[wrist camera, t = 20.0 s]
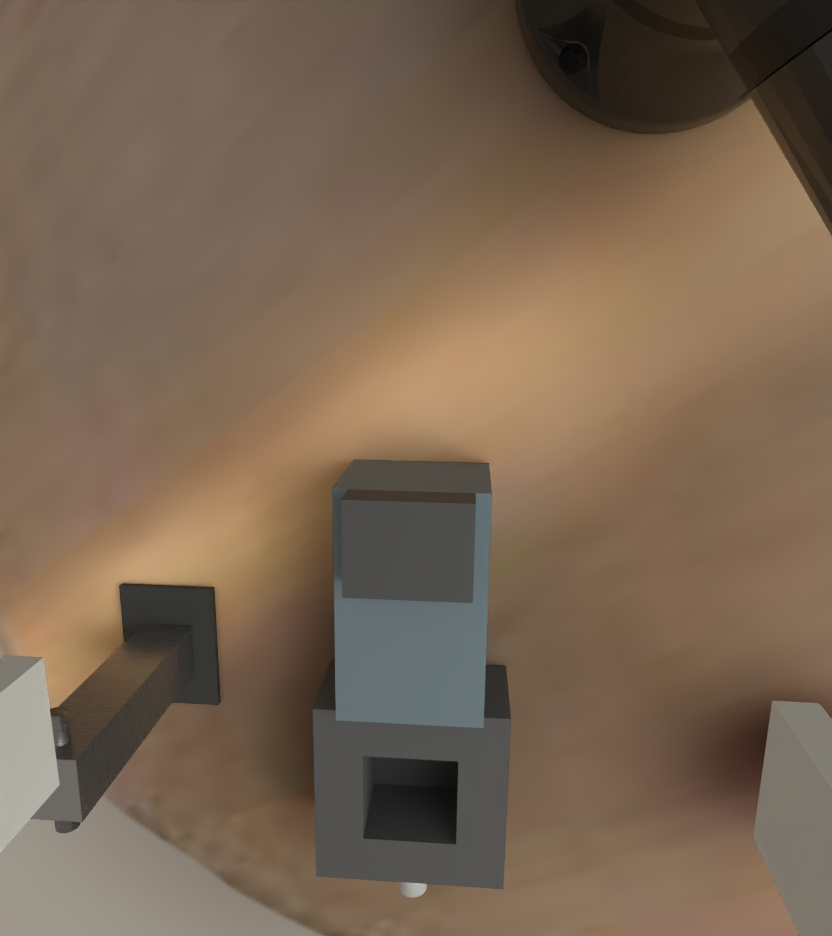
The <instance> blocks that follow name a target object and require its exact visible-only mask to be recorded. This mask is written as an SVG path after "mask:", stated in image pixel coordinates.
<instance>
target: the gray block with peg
mask: <svg viewBox="0 0 832 936" xmlns="http://www.w3.org/2000/svg"><path fill="white" fill-rule="evenodd" d="M194 673H195V660H194V644H193V628H192V626H187V625H164V624H143V625H142V626H141V627H140V628H139V629H137V630H136V631H135V632H134V633H133V634H132V635H131V636H130V637H129V638H128V639H127V640H126V641H125V642H124V643H123V644H122V645H121V646H120V647H119V648H118V649H117V650H116V651H115V652H114V653H113V654H112V655H111V656H110V657H109V658H108V659H107V660H106V661H105V662H104V663H103V664H102V665H101V666H100V667H99V668H98V669H97V670H96V671H95V672H94V673H92V674H91V675H90V676H89V677H88V678H87V679H86V680H85V681H84V682H83V683H82V684H81V685H80V686H79V687H78V688H77V689H76V690H75V691H74V692H73V693H72V694H71V695H70V696H69V697H68V698H67V699H66V700H65V701H64V702H63V703H62V704H61V705H60V706H59V707H56V708H52V709H50V714H51V722H52V730H53V737H54V745H55V753H56V761H57V768H58V776H59V784H60V785H59V786H58V787H57V788H56V790H55V791H54V792H53V793H52V794H51V795H50V796H49V798H48V799H47V800H46V801H45V802H44V803H43V805H42V806H41V807H40V808H39V809H38V810H37V811H36V813H35V814H34V815H33V816H32V817H31V818H30V819H41V820H55V829H56V831H57V832H59V833H68V832H71V831H73V830H75V829H76V828H78V826H79V825H80V823H81V822H83V820H84V819H85V818H86V816H87V815H88V814H89V812H90V811H91V810H92V809H93V807H94V806H95V804H96V803H97V802H98V800H99V799H100V798H101V797H102V795H103V794H104V793H105V791H106V790H107V789H108V787H109V786H110V785H111V783H112V782H113V781H114V779H115V778H116V777H117V775H118V774H119V773H120V771H121V770H122V769H123V767H124V766H125V765H126V763H127V762H128V761H129V759H130V758H131V757H132V755H133V754H134V753H135V751H136V750H137V749H138V747H139V746H140V745H141V743H142V742H143V741H144V739H145V738H146V737H147V735H148V734H149V733H150V731H151V730H152V729H153V727H154V726H155V725H156V723H157V722H158V721H159V719H160V718H161V717H162V715H163V714H164V713H165V711H166V710H167V709H168V707H169V706H170V705H171V703H172V702H173V701H174V699H175V698H176V697H177V695H178V694H179V693H180V691H181V690H182V689H183V687H184V686H185V685H186V683H187V682H188V681H189V679H190V678H191V677H192V675H193V674H194Z"/></svg>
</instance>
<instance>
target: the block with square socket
mask: <svg viewBox="0 0 832 936" xmlns="http://www.w3.org/2000/svg"><path fill="white" fill-rule="evenodd" d="M332 495H333V562H334V629H335V658H332V661H331V663H330V666H329V668H328V671H327V674H326V676H325V679H324V681H323V684H322V686H321V689H320V691H319V694H318V696H317V699H316V702H315V704H314V707H313V750H314V793H315V837H316V876H319V877H333V878H348V879H362V880H377V881H392V882H398V888H399V891H400V892H401V893H402V894H403V895H405V896H407V897H418V896H421V895H422V894H423V893H424V892H425V891H426V888H427V884H436V885H450V886H465V887H480V888H494V889H503V882H504V860H505V837H506V815H507V792H508V770H509V747H510V725H511V716H510V705H509V695H508V684H507V673H506V666H494V665H486V645H487V617H488V588H489V560H490V532H491V504H492V490H491V480H490V470H489V463H461V462H424V461H387V460H354V461H353V462H352V463H351V465H350V466H349V467H348V469H347V470H346V471H345V473H344V474H343V475H342V477H341V478H340V479H339V481H338V482H337V483H336V485H335V486H334V487H333V489H332Z"/></svg>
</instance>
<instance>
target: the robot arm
mask: <svg viewBox="0 0 832 936" xmlns="http://www.w3.org/2000/svg"><path fill="white" fill-rule="evenodd" d="M515 1H516V9H517V15H518V20H519V24H520V28H521V31H522V35H523V38H524V40H525V43H526V46H527V48H528V50H529V53H530V55H531V57H532V59H533V61H534V63H535V64H536V66H537V68H538V69H539V71H540V73H541V74H542V76H543V77H544V78H545V80H546V81H547V82H548V84H549V85H550V86H551V87H552V88H553V89H554V91H555V92H556V93H557V94H558V95H559V96H560V97H561V98H562V99H563V100H564V101H566V102H567V103H568V104H569V105H571V106H572V107H573V108H574V109H576V110H577V111H579V112H580V113H582V114H583V115H585V116H587V117H589V118H590V119H592V120H594V121H597V122H599V123H601V124H604V125H606V126H609V127H612V128H615V129H619V130H623V131H628V132H634V133H642V134H663V133H672V132H678V131H683V130H688V129H692V128H695V127H698V126H701V125H704V124H707V123H709V122H712V121H714V120H716V119H718V118H720V117H722V116H724V115H726V114H728V113H730V112H731V111H733V110H734V109H736V108H738V107H739V106H741V105H742V104H743V103H745V102H746V101H747V100H749V99H750V98H751V99H752V101H753V103H754V104H755V106H756V108H757V109H758V111H759V113H760V114H761V116H762V118H763V120H764V121H765V123H766V125H767V126H768V128H769V130H770V131H771V133H772V135H773V137H774V138H775V140H776V142H777V143H778V145H779V147H780V149H781V150H782V152H783V154H784V155H785V157H786V159H787V160H788V162H789V164H790V166H791V167H792V169H793V171H794V172H795V174H796V176H797V177H798V179H799V181H800V183H801V184H802V186H803V188H804V189H805V191H806V193H807V195H808V196H809V198H810V200H811V201H812V203H813V205H814V206H815V208H816V210H817V212H818V213H819V215H820V217H821V218H822V220H823V222H824V223H825V225H826V227H827V229H828V230H829V232H830V234H831V235H832V0H515ZM59 785H60V784H59V776H58V768H57V761H56V753H55V745H54V737H53V730H52V722H51V714H50V706H49V699H48V691H47V683H46V675H45V667H44V660H43V658H41V657H24V656H7V655H5V656H3V657H2V658H1V659H0V853H1V852H2V850H3V849H4V848H5V847H6V846H7V845H8V844H9V842H10V841H11V840H12V839H13V838H14V837H15V836H16V834H17V833H18V832H19V831H20V830H21V829H22V827H23V826H24V825H25V824H26V823H27V822H28V821H29V819H30V818H31V817H32V816H33V815H34V814H35V813H36V811H37V810H38V809H39V808H40V807H41V806H42V805H43V803H44V802H45V801H46V800H47V799H48V798H49V796H50V795H51V794H52V793H53V792H54V791H55V790H56V788H57V787H58V786H59ZM753 839H754V841H755V843H756V845H757V847H758V849H759V852H760V854H761V856H762V858H763V860H764V862H765V864H766V866H767V868H768V871H769V873H770V875H771V877H772V879H773V881H774V883H775V885H776V887H777V890H778V892H779V894H780V896H781V898H782V900H783V902H784V904H785V906H786V909H787V911H788V913H789V915H790V917H791V919H792V921H793V923H794V925H795V928H796V930H797V932H798V934H799V936H832V719H831V718H830V716H829V715H828V714H827V712H826V711H825V710H824V709H823V707H822V706H821V705H820V704H819V703H805V702H788V701H772V705H771V712H770V720H769V727H768V734H767V741H766V749H765V756H764V763H763V770H762V777H761V785H760V792H759V799H758V806H757V813H756V821H755V828H754V835H753Z"/></svg>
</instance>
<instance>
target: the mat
mask: <svg viewBox="0 0 832 936" xmlns="http://www.w3.org/2000/svg"><path fill="white" fill-rule="evenodd" d="M119 587H120V599H121V611H122V623H123V634H124V642H125V641H126V640H127V639H128V638H129V637H130V636H131V635H132V634H133V633H134V632H135V631H136V630H137V629H139V628H140V627H141V626H142V625H143V624H164V625H187V626H192V628H193V644H194V660H195V673H194V674H193V675H192V677H191V678H190V679H189V681H188V682H187V683H186V685H185V686H184V687H183V689H182V690H181V691H180V693H179V694H178V695H177V697H176V698H175V699H174V701H173V703H193V704H212V705H219V703H220V684H219V666H218V647H217V629H216V610H215V592H214V587H196V586H171V585H146V584H121V585H120V586H119Z"/></svg>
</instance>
